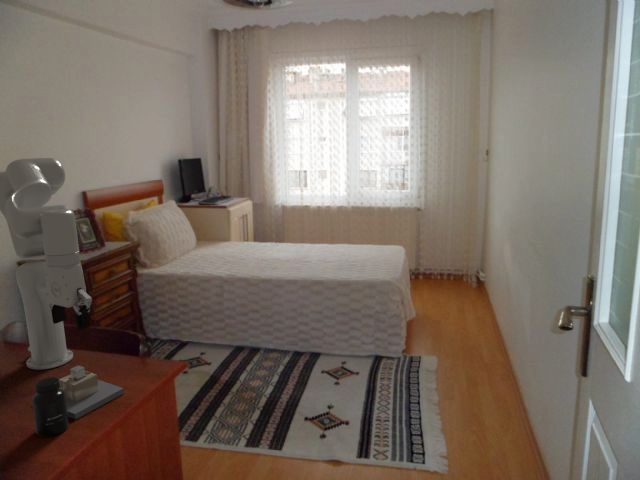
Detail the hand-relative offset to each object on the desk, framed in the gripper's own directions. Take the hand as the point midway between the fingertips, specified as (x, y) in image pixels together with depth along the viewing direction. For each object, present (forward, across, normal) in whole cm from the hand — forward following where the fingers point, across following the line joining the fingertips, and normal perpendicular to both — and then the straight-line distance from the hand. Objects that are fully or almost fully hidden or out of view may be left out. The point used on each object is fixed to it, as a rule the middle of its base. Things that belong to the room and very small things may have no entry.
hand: (71, 325), depth 124 cm
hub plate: (+20, 0, 0) cm, 20 cm away
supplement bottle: (+20, +7, -12) cm, 25 cm away
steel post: (+19, 0, 0) cm, 19 cm away
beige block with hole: (+19, 0, 0) cm, 19 cm away
